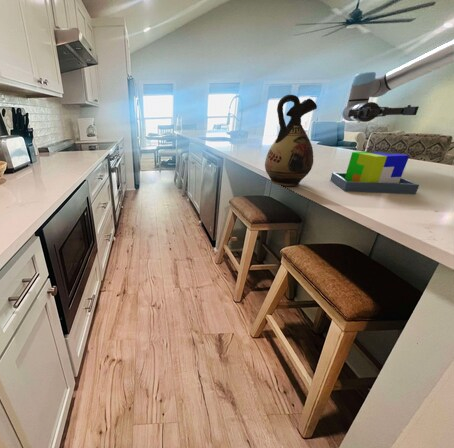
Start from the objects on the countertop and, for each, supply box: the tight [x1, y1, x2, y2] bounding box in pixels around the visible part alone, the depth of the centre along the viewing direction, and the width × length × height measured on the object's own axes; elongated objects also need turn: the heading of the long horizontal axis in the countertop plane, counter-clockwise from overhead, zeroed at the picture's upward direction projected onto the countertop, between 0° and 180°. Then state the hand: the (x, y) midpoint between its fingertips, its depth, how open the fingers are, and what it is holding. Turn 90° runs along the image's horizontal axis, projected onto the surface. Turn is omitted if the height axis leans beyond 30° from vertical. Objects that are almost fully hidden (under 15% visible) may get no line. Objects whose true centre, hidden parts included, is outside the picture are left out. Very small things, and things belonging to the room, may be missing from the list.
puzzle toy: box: [345, 150, 410, 183], centre depth 80 cm, size 10×10×10 cm
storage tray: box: [330, 172, 420, 195], centre depth 82 cm, size 19×15×3 cm
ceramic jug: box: [259, 94, 318, 187], centre depth 85 cm, size 17×15×30 cm
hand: (391, 111), depth 84 cm, fingers open, 13 cm apart
